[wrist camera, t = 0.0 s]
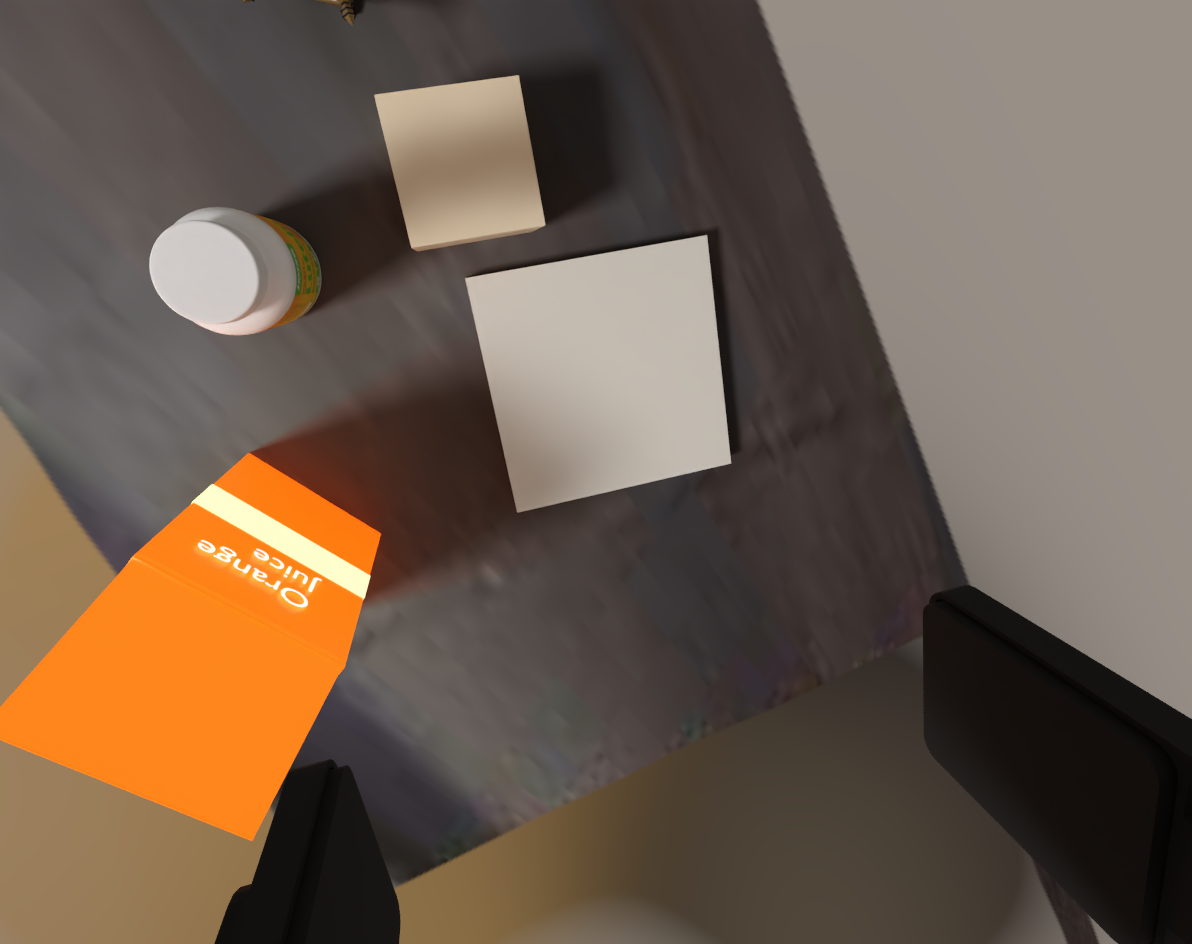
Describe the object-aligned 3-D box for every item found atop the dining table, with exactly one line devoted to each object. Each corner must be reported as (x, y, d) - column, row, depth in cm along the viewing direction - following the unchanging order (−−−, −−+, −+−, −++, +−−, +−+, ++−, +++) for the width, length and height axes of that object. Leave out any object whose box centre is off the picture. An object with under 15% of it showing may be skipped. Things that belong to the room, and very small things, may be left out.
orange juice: (249, 450, 38) (45, 629, 19) (383, 532, 40) (323, 758, 22) (172, 555, 38) (-97, 828, 20) (310, 629, 41) (191, 927, 23)
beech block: (386, 123, 34) (374, 94, 29) (508, 106, 35) (518, 75, 30) (417, 251, 36) (411, 248, 31) (531, 232, 37) (545, 225, 32)
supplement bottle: (343, 296, 36) (306, 305, 27) (254, 341, 36) (186, 366, 27) (285, 200, 34) (224, 174, 25) (190, 247, 34) (95, 239, 25)
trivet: (464, 278, 37) (465, 278, 36) (699, 236, 39) (707, 235, 38) (515, 506, 42) (517, 512, 41) (724, 458, 44) (731, 463, 43)
